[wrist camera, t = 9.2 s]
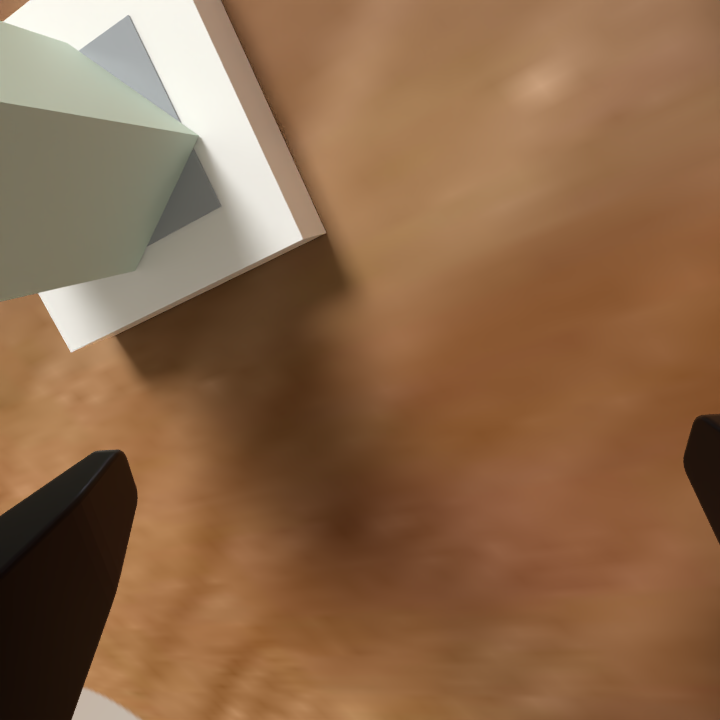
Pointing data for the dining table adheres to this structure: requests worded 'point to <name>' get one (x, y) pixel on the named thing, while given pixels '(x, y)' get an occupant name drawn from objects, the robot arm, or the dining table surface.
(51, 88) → the pillar
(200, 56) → the slab
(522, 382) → the dining table surface
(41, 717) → the robot arm
